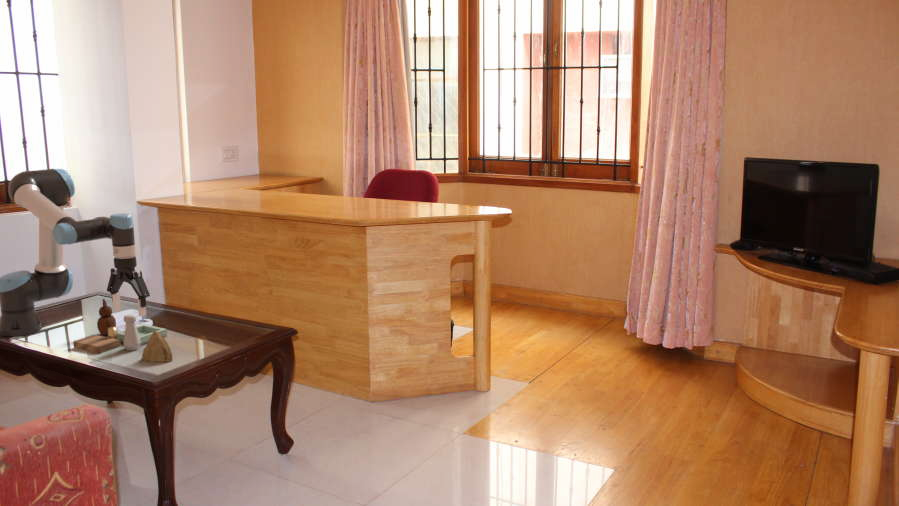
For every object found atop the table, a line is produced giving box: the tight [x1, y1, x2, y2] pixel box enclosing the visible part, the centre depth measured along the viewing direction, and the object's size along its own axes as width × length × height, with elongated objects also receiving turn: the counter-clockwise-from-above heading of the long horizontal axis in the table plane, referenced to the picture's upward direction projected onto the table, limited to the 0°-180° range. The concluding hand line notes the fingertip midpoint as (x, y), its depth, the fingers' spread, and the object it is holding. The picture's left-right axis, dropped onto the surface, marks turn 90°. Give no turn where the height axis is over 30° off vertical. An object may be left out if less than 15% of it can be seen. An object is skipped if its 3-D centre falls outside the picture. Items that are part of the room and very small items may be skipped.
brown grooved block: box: [73, 334, 122, 354], centre depth 283 cm, size 14×9×3 cm, turn 65°
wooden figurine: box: [96, 298, 117, 337], centre depth 297 cm, size 7×6×15 cm
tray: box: [117, 323, 168, 347], centre depth 294 cm, size 13×13×3 cm
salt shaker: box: [123, 313, 141, 351], centre depth 281 cm, size 6×6×13 cm
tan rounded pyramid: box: [140, 331, 173, 363], centre depth 269 cm, size 11×9×10 cm
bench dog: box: [107, 326, 118, 339], centre depth 288 cm, size 3×3×6 cm
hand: (129, 313), depth 279 cm, fingers open, 13 cm apart
